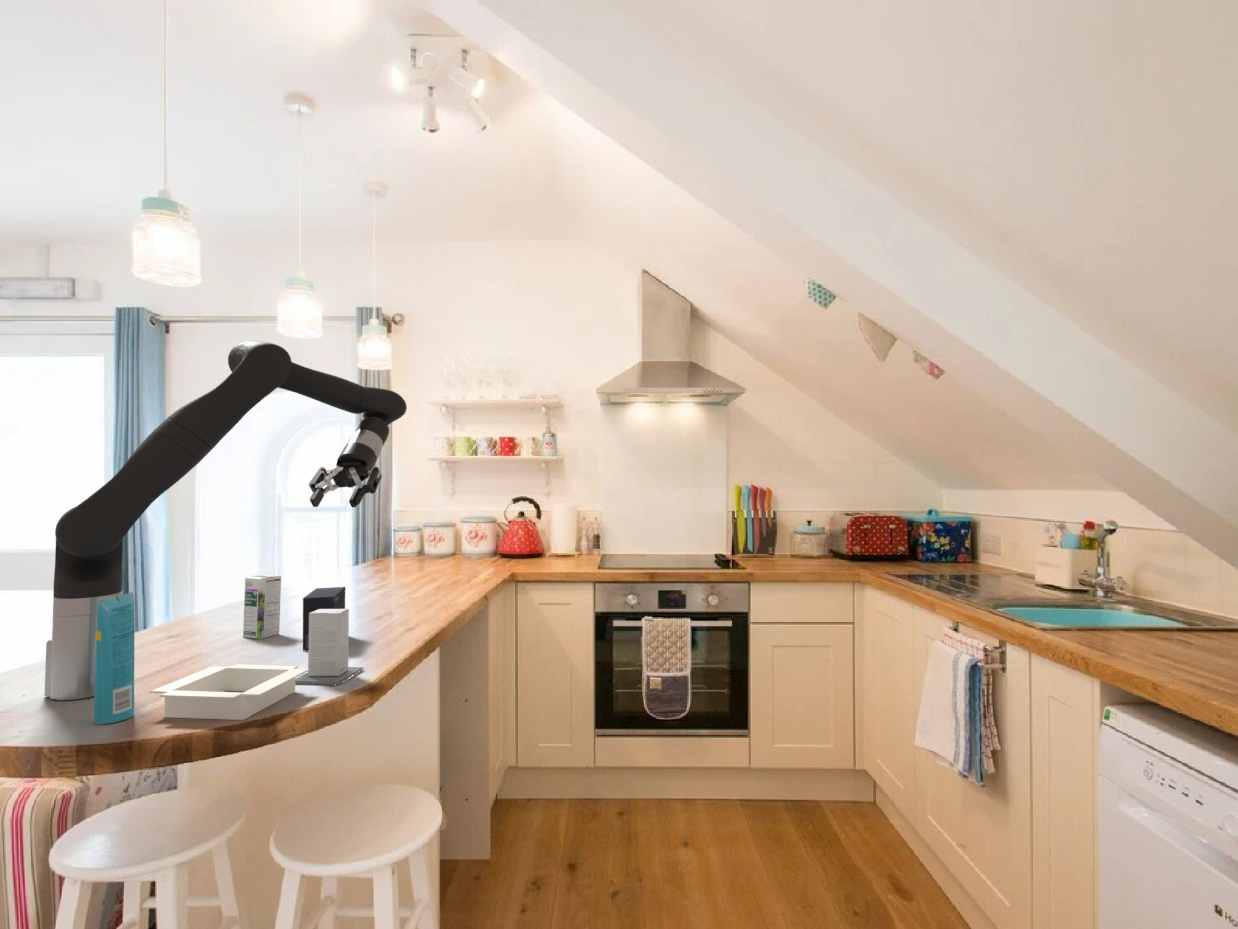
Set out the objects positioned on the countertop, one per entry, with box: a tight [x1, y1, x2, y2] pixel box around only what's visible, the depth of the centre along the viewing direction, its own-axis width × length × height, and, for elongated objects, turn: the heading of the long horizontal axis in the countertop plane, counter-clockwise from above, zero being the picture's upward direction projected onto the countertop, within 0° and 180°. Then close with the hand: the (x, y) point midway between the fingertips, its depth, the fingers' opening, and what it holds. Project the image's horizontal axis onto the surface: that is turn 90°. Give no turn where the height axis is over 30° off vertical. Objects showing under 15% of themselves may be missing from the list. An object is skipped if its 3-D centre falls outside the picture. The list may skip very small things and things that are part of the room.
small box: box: [302, 586, 346, 651], centre depth 141 cm, size 13×7×12 cm, turn 15°
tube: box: [93, 591, 135, 725], centre depth 95 cm, size 7×5×19 cm, turn 11°
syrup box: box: [242, 574, 282, 640], centre depth 148 cm, size 6×6×14 cm
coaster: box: [295, 666, 364, 686], centre depth 116 cm, size 9×9×1 cm
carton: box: [149, 664, 309, 721], centre depth 102 cm, size 18×16×4 cm
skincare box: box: [307, 608, 350, 676], centre depth 116 cm, size 6×4×12 cm
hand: (332, 504), depth 128 cm, fingers open, 8 cm apart
